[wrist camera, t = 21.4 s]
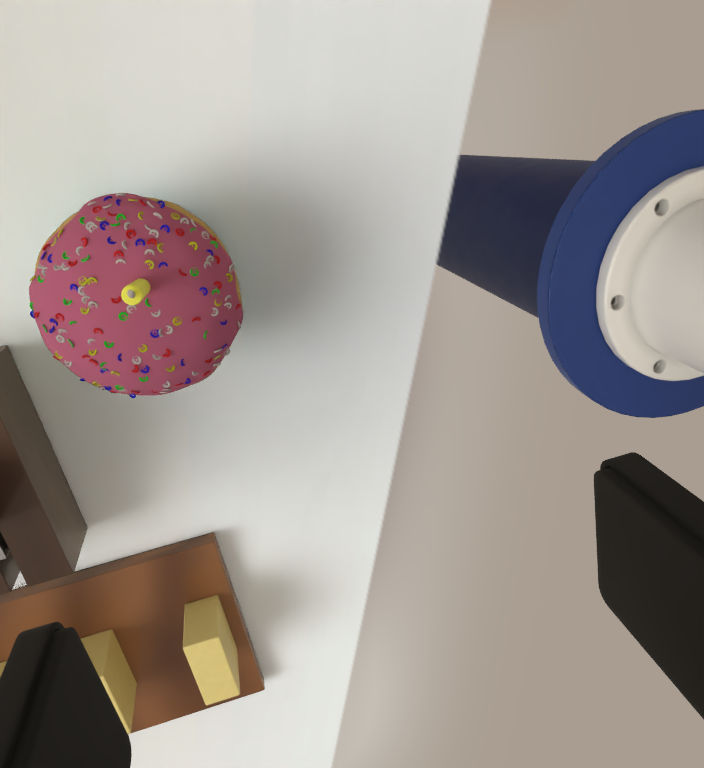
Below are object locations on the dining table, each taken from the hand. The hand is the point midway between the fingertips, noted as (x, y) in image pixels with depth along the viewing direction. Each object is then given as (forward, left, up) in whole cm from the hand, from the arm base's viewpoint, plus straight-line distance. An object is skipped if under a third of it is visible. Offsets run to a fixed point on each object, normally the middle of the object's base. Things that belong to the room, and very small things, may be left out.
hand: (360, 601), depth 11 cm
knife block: (+15, +5, -23) cm, 28 cm away
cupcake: (+5, -2, -23) cm, 24 cm away
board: (+15, +19, -23) cm, 33 cm away
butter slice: (+8, +19, -22) cm, 30 cm away
